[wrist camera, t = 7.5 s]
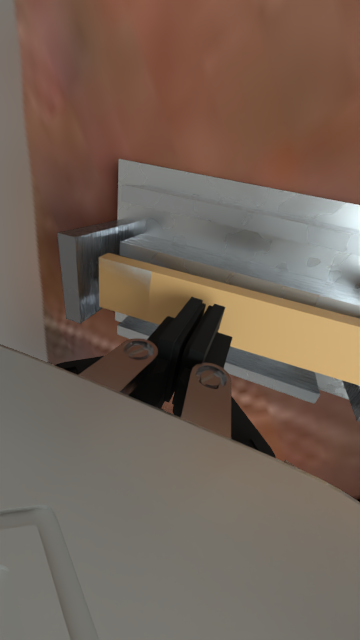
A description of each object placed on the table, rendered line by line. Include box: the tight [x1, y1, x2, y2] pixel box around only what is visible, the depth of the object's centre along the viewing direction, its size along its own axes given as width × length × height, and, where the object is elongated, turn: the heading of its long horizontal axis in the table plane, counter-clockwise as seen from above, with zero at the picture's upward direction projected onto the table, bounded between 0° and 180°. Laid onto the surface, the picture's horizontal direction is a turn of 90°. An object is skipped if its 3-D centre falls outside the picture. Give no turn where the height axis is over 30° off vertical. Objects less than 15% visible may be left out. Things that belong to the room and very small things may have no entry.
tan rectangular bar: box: [99, 253, 360, 386], centre depth 13 cm, size 17×3×2 cm, turn 80°
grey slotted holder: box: [57, 159, 360, 422], centre depth 15 cm, size 20×12×8 cm, turn 80°
